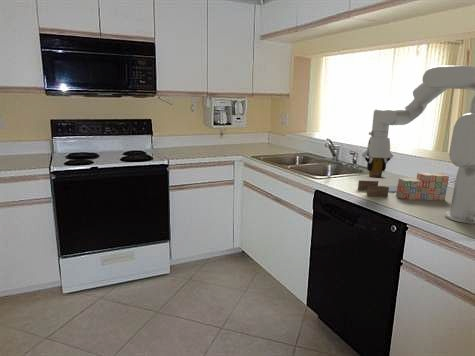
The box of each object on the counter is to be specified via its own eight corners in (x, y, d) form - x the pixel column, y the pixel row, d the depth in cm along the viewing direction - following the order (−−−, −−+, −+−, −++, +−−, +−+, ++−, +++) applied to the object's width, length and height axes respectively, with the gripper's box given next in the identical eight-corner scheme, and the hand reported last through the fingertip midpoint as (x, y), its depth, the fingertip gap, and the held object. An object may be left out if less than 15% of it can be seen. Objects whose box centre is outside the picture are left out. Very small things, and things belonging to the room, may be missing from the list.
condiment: (368, 174, 183) (370, 151, 180) (385, 176, 180) (388, 153, 177) (367, 177, 176) (370, 153, 174) (385, 179, 173) (388, 155, 171)
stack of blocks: (402, 199, 171) (405, 174, 168) (395, 196, 177) (399, 171, 174) (445, 200, 172) (449, 175, 169) (437, 196, 178) (441, 172, 175)
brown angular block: (387, 196, 174) (388, 187, 173) (367, 196, 174) (368, 186, 173) (376, 189, 187) (377, 180, 186) (357, 189, 187) (358, 180, 186)
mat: (408, 192, 184) (408, 191, 184) (385, 192, 183) (385, 191, 183) (397, 186, 196) (397, 185, 195) (375, 186, 195) (375, 185, 195)
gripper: (365, 135, 170) (361, 172, 173) (400, 135, 170) (396, 172, 174) (359, 133, 177) (356, 169, 181) (393, 134, 178) (389, 169, 181)
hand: (376, 170), depth 177 cm, fingers closed on condiment, 6 cm apart
